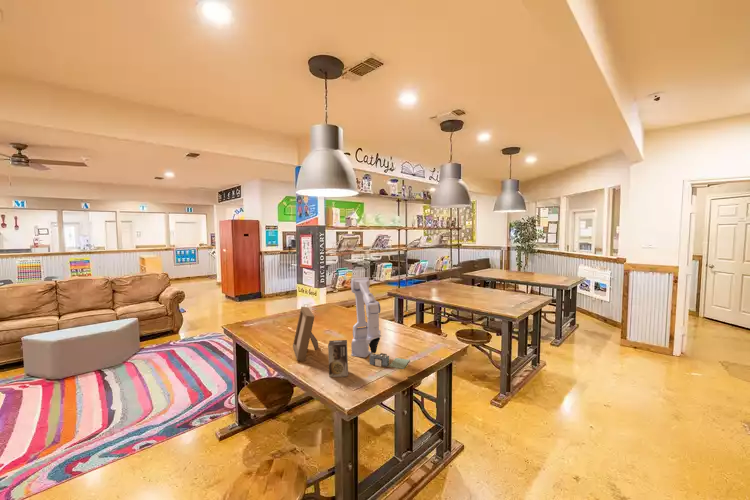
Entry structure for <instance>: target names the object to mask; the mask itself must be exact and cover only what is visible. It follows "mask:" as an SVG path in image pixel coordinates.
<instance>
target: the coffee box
mask: <svg viewBox="0 0 750 500" xmlns="http://www.w3.org/2000/svg"><path fill="white" fill-rule="evenodd" d="M327 349H328V352H327V353H328V373H329V374H328V376H329V378H335V377H336V378H337V377H340V378H341V377H348V375H349V363H348V361H349V360H348V359H349V357H348V340H347V339H338V340H329V341H328V345H327Z"/></svg>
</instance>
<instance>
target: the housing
mask: <svg viewBox="0 0 750 500" xmlns="http://www.w3.org/2000/svg"><path fill="white" fill-rule="evenodd" d="M368 356H369V365H373V366H375V359H376V358H380V359H382V366H381V367H383V368H385V367H386V368H388V367H389V365H390V355H387V356H386V355H380V353H370V354H369V355H368Z"/></svg>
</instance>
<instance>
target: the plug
mask: <svg viewBox="0 0 750 500" xmlns="http://www.w3.org/2000/svg"><path fill="white" fill-rule="evenodd" d="M379 354H380V355H386V356H388V354H387V353H383V352H381V353H379ZM374 366H376V367H383V366H382V359H380V358H376V359H375V365H374Z"/></svg>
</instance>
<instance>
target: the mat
mask: <svg viewBox="0 0 750 500" xmlns="http://www.w3.org/2000/svg"><path fill="white" fill-rule="evenodd" d="M409 362H410V359H405V358H399V357H395V358H394V359H393V360H392V361H391V363H389V366H388V367H390V368H396V369H401V370H404V369H405V368H406V366H407V365H408V364H409Z"/></svg>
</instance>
